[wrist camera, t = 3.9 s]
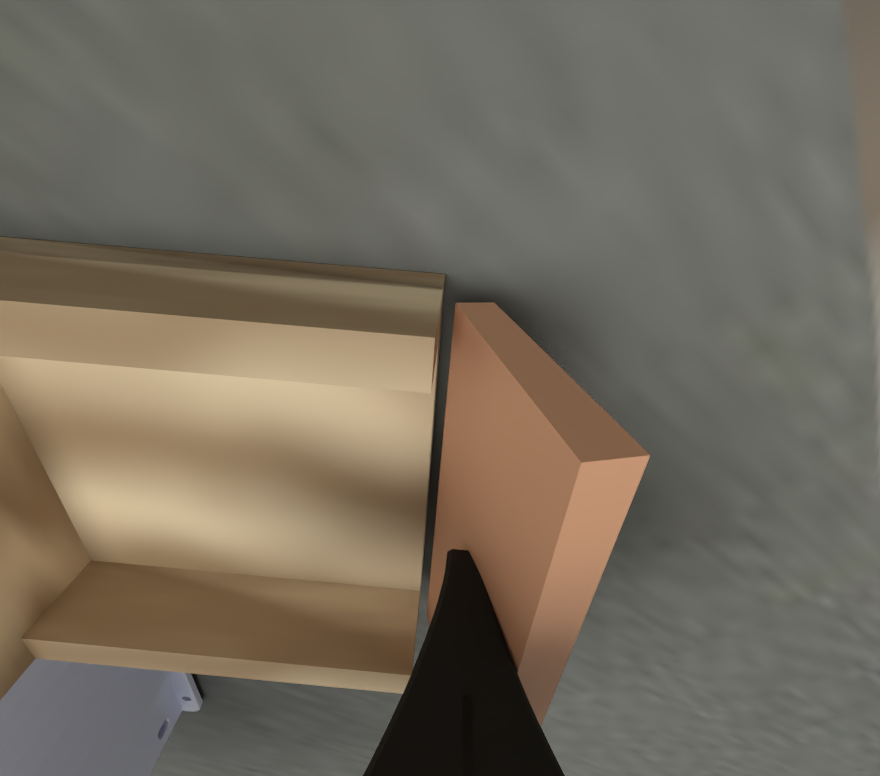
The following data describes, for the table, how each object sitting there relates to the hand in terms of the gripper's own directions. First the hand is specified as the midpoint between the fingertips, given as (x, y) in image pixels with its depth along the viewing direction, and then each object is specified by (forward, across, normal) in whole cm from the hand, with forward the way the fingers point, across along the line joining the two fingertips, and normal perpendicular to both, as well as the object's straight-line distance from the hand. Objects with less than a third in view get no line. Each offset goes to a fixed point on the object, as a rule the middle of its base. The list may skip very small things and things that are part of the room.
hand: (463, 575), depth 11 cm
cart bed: (+5, +8, 0) cm, 9 cm away
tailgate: (+3, 0, 0) cm, 3 cm away
